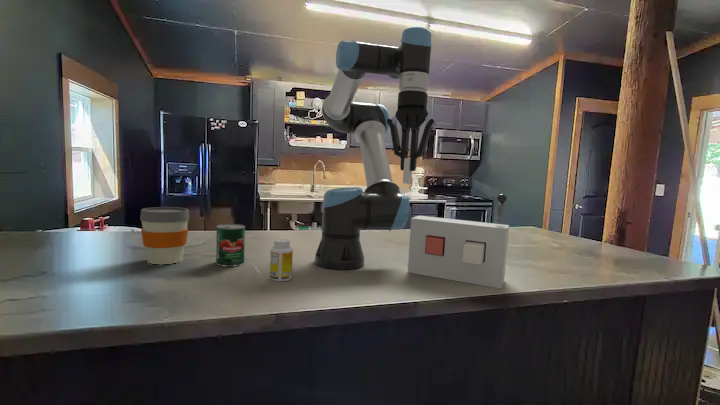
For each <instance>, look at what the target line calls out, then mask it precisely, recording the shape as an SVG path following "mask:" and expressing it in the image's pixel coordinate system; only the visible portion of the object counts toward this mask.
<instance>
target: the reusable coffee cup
mask: <svg viewBox="0 0 720 405" xmlns="http://www.w3.org/2000/svg"><path fill="white" fill-rule="evenodd" d="M139 217H140V218H139V219H140V221H141V226H142V229H141V230H140V231H141V239H142V244H143V247H144V248H145V253H146V260H147V263H148V262H149V263H152V264H171V263H176V262H179V261H181V260H182V261H183V258H184V252H185V251H184V250H185V245H186V244H187V241H188V233H189V228H188V224H189V220H190V211H189V209H188V208H187V207H177V206H175V207H174V206H159V207H158V206H156V207H155V206H154V207H144V208H142V209H141V210H140V216H139ZM182 261H181V262H182ZM149 263H148V264H149ZM152 264H151V265H152ZM176 264H177V263H176ZM171 265H172V264H171Z"/></svg>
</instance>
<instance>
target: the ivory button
mask: <svg viewBox="0 0 720 405" xmlns="http://www.w3.org/2000/svg"><path fill="white" fill-rule="evenodd" d="M484 251H485V243H479V242H471V241H467V242H466V243H465V244H464V249H463V261H462V262H466V263H473V264H479V265H481V263H482V262H483V260H484Z"/></svg>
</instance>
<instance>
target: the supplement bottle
mask: <svg viewBox="0 0 720 405" xmlns="http://www.w3.org/2000/svg"><path fill="white" fill-rule="evenodd" d="M293 252H294V251H293V248H292V247H291V240H290V239H288V238H277V239H274V240H273V247H271V249H270V265H269V266H270V267H269V268H270V269H269V276H270V277H269V278H270V279H271V281H274V282H280V281H282V282H288V281H290V280H291V279H292V278H293V254H294V253H293Z"/></svg>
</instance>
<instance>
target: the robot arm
mask: <svg viewBox="0 0 720 405" xmlns="http://www.w3.org/2000/svg"><path fill="white" fill-rule="evenodd" d="M400 42H401V44H400V46H398V47H397V46H390V45H383V44H373V43H367V42H362V41H361V42H360V41H356V40H341V41H340V42H338V44H337V47H336V54H335V66H336V68H337V70H338V71H337V74H336V76H335V79H334V82H333V85H332V88H331V90H330V93H329V95H328V96H327V97H326V98H325V99H324V100H323V104H322V107H321V113H322V117H323V119H324V121H325V123H326V124H327V125H328V126H329V127H330V128H332V129H333V130H334V131H336V132H339V133H343V134H352V135H353V136H354V139H355V140H356V142H358V143H359V147H360V153H361V158H362V165H363V172H364V175H365V181H366V182H365V183H366V186H367V187H366V188H365V190H363V188H362V187H356V186H355V187H351V186H350V187H340V188H332V189H328V190H326V191H325V193H324V194H323V199H322V200H323V201H322V202H323V203H322V224H321V225H322V226H321V238H320V241H319V245H318V247H317V250H316V252H315V256H314V263H315V265H316V266H318V267H320V268H325V269H330V270H331V269H332V270H354V269H355V270H356V269H359V268H361V267H364V265H365V254H364V251H363V248H362V245H361V238H360V237H361V236H360V235H361V231H389V232H391V231H399V230H403V228H405V226H406V225H407V224H406V223H407V221H408V220H409V219H408V218H409V214H410V198H409V195H408V194H407V193H405V192H403V193H401V190H400V187H399V185H398V184H397V183H395V182H394V181H393V178H392V172H391V168H390V163H389V159H388V155H387V150H386V146H385V141H384V138H385V135H386V134H387V133H388V131H389V130H390V135H391V143H392V149H393V154H394V155H395V156H397V157H400V165H399V166H400V167H399V169H400V171H403V174H402V176H403V177H402V184H406V185H407V184H408V185H409V184H412V180H413V179H412V178H413V172H416V169H417V160H418V158H420V157H421V158H422V157H424V156H425V153H426V149H427V146H428V142H429V140H430V136H431V133H432V130H433V129H434V127H435V125H436V124H437V121H436V120H435V119H434V118H432V117H430V116H429V113H428V93H427V92H428V91H429V82H430V81H429V79H430V65H431V52H432V46H433V45H432V32H431V30H430V29H428V28H426V27H422V26H410V27H406V28H405V29H404V30H403V31H402V34H401V39H400ZM366 74H376V75H384V76H388V77H389V78H390V79H393V80H398V82H399V83H398V90H399V93H397V94H398V95H397V110H396V111H395V115H394V116H393V117H391V118H390V117H389V112H388V110H387V108H386V106H384V105H383V104H380V103H375V102H361V101H353V99H354V98H355V95H356V94H357V91H358V89H359V88H360V85H361V84H362V82H363V80H364V77H365V75H366ZM398 123H399V124H400V126H401V140H400V135H399V129H398V126H397V125H398ZM423 124H425V126H424V128H423V133H422V136H421V139H420V141H419V137H420V136H419V135H420V130H421V129H420V128H421V127H422V125H423ZM410 132H411V134H410ZM410 135H411V136H410ZM410 139H411V140H410ZM400 141H401V142H400ZM409 142H410V150H409ZM419 142H420V143H419Z"/></svg>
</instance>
